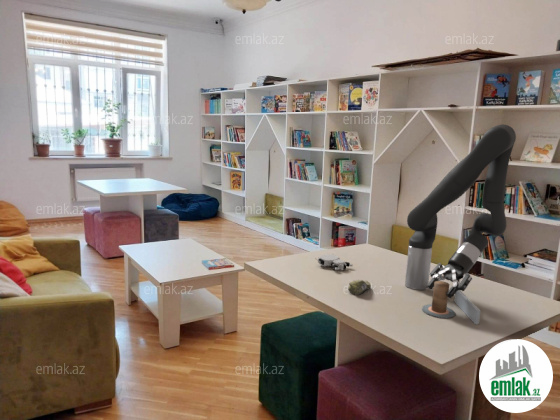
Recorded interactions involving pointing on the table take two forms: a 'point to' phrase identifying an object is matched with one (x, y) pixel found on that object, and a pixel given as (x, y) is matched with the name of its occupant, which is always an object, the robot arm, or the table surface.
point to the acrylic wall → (467, 307)
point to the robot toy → (333, 262)
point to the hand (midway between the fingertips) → (438, 292)
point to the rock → (358, 286)
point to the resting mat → (429, 311)
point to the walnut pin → (440, 296)
